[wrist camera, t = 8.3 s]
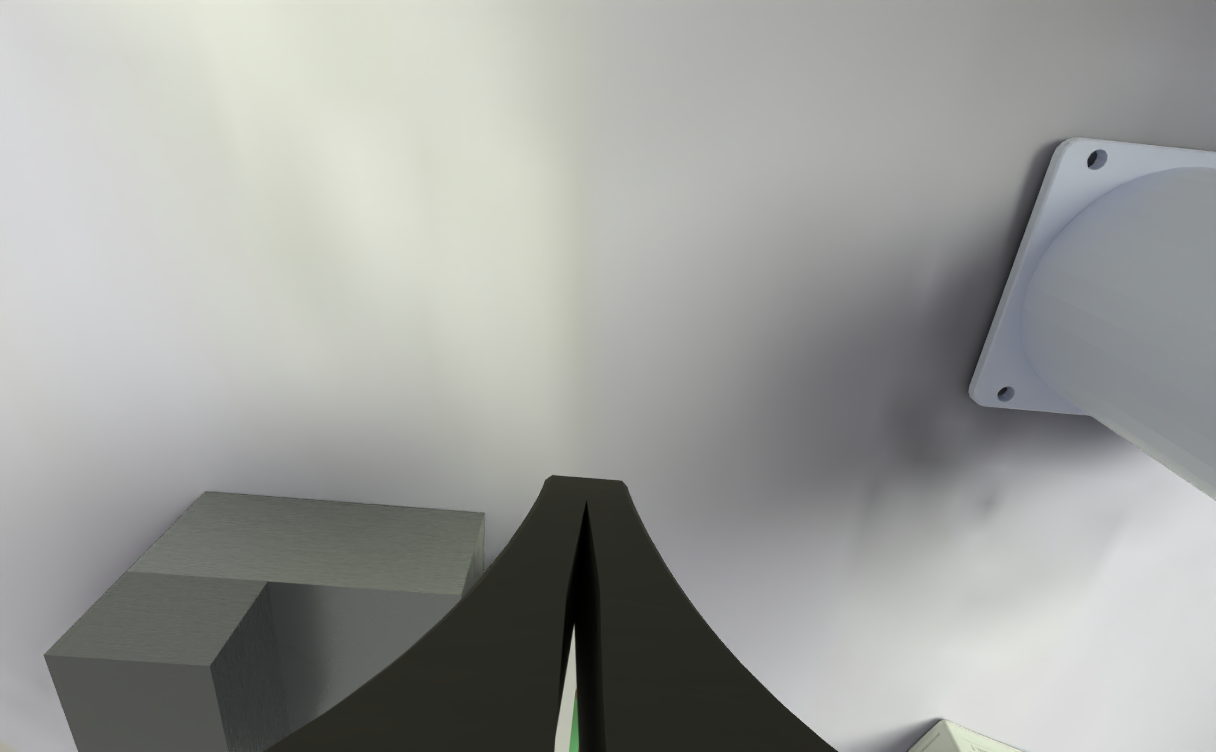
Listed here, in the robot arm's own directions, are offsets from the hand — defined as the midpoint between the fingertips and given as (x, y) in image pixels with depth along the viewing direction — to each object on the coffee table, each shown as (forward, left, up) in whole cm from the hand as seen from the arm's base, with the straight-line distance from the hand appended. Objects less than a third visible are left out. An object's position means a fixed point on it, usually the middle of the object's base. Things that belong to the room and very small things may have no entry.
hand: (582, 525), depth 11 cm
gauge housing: (+8, +11, -9) cm, 17 cm away
